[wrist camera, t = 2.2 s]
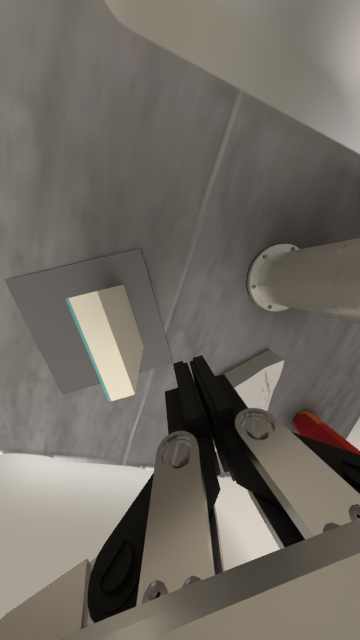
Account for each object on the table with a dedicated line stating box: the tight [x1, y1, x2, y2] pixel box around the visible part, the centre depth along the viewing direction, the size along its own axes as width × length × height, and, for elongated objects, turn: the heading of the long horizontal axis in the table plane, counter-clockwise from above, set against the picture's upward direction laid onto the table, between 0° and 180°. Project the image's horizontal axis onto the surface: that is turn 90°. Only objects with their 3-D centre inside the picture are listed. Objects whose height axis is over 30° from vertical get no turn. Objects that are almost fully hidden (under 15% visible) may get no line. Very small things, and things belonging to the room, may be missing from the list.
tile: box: [65, 284, 144, 402], centre depth 25 cm, size 3×12×14 cm, turn 13°
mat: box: [5, 248, 173, 394], centre depth 31 cm, size 22×22×1 cm
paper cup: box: [293, 411, 360, 455], centre depth 38 cm, size 8×8×14 cm
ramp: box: [213, 350, 284, 452], centre depth 38 cm, size 28×16×5 cm, turn 158°
